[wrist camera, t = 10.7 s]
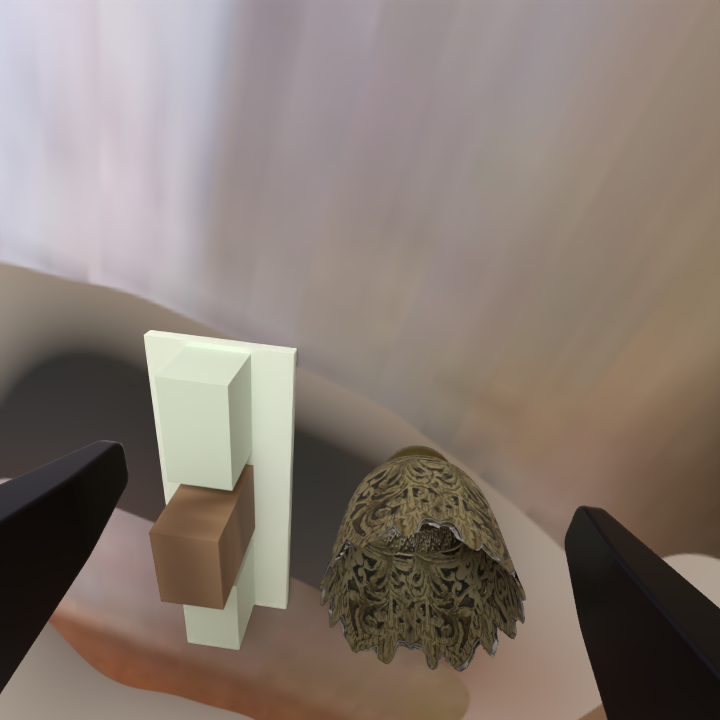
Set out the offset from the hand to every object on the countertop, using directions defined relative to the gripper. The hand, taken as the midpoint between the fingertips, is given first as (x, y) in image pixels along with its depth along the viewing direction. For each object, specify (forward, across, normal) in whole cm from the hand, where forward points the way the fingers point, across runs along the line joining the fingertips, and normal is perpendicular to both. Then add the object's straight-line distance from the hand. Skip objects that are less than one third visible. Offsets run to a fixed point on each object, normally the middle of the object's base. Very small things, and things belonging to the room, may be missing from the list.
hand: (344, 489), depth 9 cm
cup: (+12, -3, +9) cm, 15 cm away
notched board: (+12, +7, +12) cm, 18 cm away
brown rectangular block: (+11, +7, +12) cm, 18 cm away
